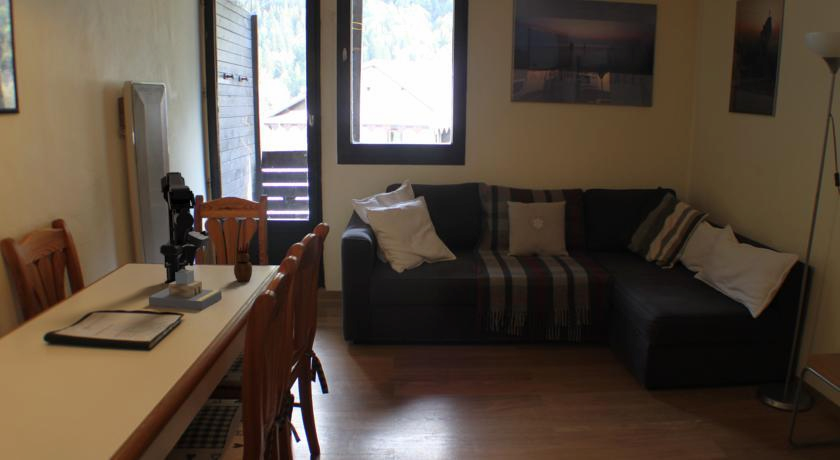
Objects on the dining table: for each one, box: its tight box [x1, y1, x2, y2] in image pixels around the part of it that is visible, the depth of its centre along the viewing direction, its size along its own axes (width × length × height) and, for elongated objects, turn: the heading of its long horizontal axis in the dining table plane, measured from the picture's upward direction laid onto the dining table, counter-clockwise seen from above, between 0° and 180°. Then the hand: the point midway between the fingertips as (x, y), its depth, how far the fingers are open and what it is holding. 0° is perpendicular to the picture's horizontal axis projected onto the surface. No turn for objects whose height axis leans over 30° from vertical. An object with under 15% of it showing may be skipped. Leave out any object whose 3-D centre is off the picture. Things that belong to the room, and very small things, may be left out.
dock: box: [148, 287, 222, 311], centre depth 237 cm, size 20×13×3 cm, turn 77°
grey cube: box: [175, 269, 195, 285], centre depth 235 cm, size 4×4×4 cm
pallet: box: [168, 280, 203, 297], centre depth 236 cm, size 9×6×4 cm, turn 77°
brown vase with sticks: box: [233, 242, 253, 282], centre depth 264 cm, size 7×6×15 cm
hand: (184, 269), depth 235 cm, fingers open, 9 cm apart
